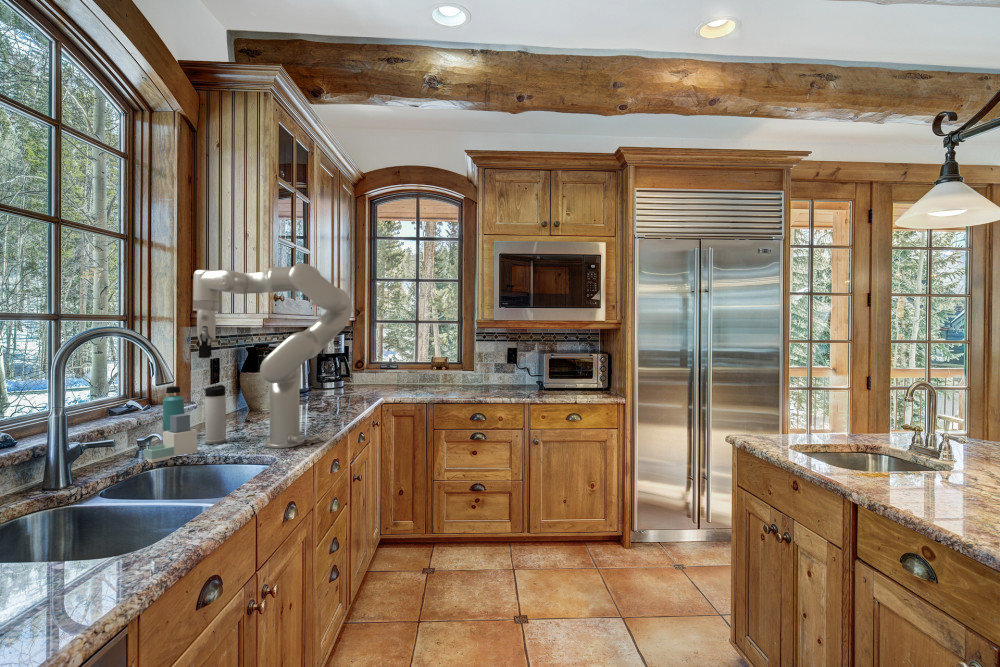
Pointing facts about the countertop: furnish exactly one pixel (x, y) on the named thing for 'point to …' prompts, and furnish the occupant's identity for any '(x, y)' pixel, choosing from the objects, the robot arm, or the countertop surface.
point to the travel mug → (215, 415)
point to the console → (172, 446)
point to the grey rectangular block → (179, 423)
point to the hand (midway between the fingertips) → (205, 357)
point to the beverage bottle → (172, 406)
